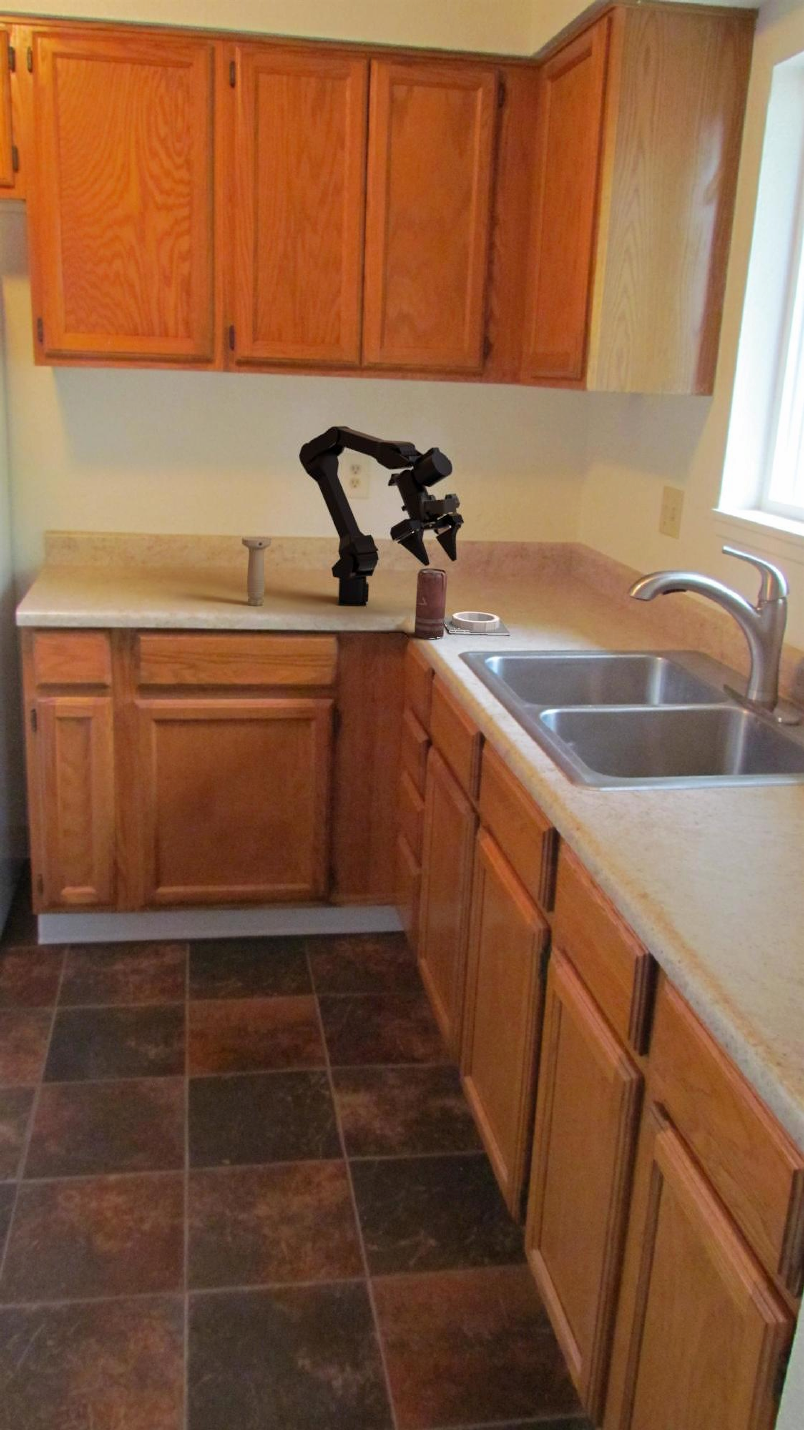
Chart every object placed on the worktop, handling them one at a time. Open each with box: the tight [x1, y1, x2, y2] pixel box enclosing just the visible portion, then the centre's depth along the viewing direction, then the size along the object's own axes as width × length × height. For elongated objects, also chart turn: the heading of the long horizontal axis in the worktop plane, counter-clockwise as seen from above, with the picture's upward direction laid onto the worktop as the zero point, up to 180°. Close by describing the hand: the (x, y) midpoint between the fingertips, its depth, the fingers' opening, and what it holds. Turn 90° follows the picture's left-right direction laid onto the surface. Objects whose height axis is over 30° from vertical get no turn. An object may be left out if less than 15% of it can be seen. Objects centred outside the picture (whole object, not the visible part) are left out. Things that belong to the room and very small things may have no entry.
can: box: [414, 567, 448, 640], centre depth 251 cm, size 6×6×14 cm
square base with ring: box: [444, 611, 510, 633], centre depth 262 cm, size 13×13×2 cm
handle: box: [241, 536, 272, 607], centre depth 271 cm, size 5×6×15 cm
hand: (441, 563), depth 260 cm, fingers open, 9 cm apart
